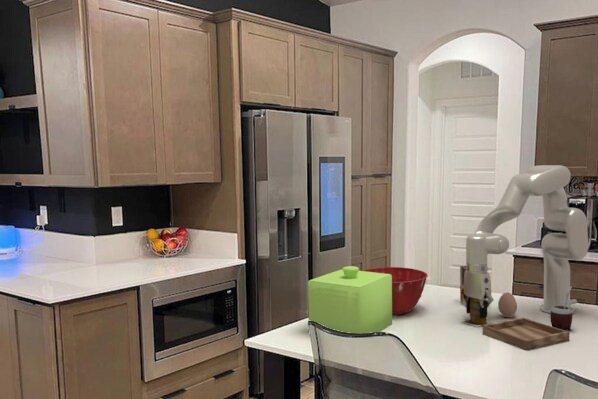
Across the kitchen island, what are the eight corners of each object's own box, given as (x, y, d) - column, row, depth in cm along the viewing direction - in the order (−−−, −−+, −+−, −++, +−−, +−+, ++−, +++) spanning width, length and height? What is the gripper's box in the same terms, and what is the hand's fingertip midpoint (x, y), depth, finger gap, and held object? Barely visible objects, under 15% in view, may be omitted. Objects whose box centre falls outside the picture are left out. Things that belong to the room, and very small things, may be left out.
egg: (511, 320, 197) (511, 295, 196) (494, 317, 202) (495, 292, 201) (520, 317, 201) (520, 292, 201) (503, 313, 206) (503, 289, 206)
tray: (523, 325, 191) (523, 317, 190) (569, 340, 174) (569, 331, 173) (482, 333, 182) (482, 325, 182) (526, 350, 165) (527, 341, 165)
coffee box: (481, 307, 216) (481, 269, 215) (466, 307, 217) (466, 269, 216) (474, 301, 226) (474, 265, 225) (459, 301, 226) (459, 265, 225)
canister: (343, 316, 208) (342, 259, 206) (392, 324, 196) (391, 264, 194) (308, 333, 187) (307, 270, 186) (360, 343, 175) (359, 276, 174)
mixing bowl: (414, 324, 195) (413, 283, 194) (346, 314, 210) (346, 276, 209) (436, 306, 219) (436, 270, 218) (374, 298, 234) (374, 265, 233)
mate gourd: (551, 331, 183) (551, 290, 182) (548, 325, 191) (549, 285, 190) (574, 333, 181) (575, 291, 180) (571, 326, 188) (572, 286, 187)
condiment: (491, 323, 194) (491, 291, 193) (477, 327, 190) (477, 295, 189) (475, 318, 200) (475, 288, 200) (461, 322, 196) (461, 291, 195)
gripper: (502, 270, 187) (501, 319, 188) (467, 263, 203) (467, 308, 204) (486, 273, 184) (486, 322, 185) (452, 265, 200) (453, 311, 201)
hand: (476, 314), depth 195 cm, fingers closed on condiment, 6 cm apart
